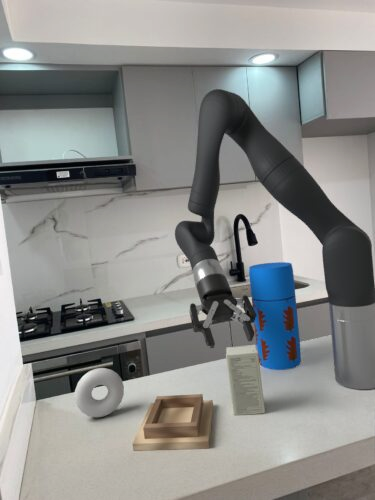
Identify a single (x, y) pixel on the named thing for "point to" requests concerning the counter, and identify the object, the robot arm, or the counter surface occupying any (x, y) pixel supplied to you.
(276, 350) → the thermos
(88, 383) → the donut
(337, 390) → the counter surface
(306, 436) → the counter surface
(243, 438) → the counter surface
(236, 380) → the skincare box
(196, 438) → the wooden square holder
